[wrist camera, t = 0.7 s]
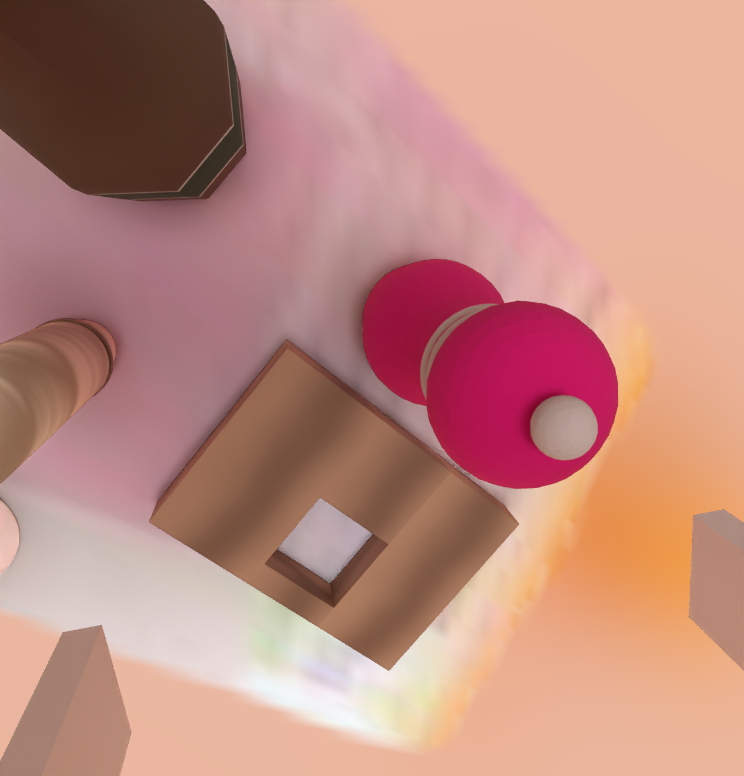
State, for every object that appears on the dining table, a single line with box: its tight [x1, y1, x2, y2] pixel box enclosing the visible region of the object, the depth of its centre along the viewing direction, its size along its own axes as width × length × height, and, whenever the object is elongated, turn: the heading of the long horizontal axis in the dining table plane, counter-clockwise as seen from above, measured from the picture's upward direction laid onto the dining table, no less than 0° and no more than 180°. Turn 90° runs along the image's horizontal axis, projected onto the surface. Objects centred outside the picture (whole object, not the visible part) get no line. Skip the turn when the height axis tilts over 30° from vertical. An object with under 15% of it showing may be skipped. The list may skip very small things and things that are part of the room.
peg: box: [0, 318, 116, 483], centre depth 27 cm, size 4×4×14 cm
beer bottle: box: [0, 0, 246, 201], centre depth 20 cm, size 8×8×24 cm
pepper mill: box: [363, 259, 618, 489], centre depth 26 cm, size 7×7×20 cm
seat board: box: [149, 340, 519, 671], centre depth 36 cm, size 17×12×2 cm
